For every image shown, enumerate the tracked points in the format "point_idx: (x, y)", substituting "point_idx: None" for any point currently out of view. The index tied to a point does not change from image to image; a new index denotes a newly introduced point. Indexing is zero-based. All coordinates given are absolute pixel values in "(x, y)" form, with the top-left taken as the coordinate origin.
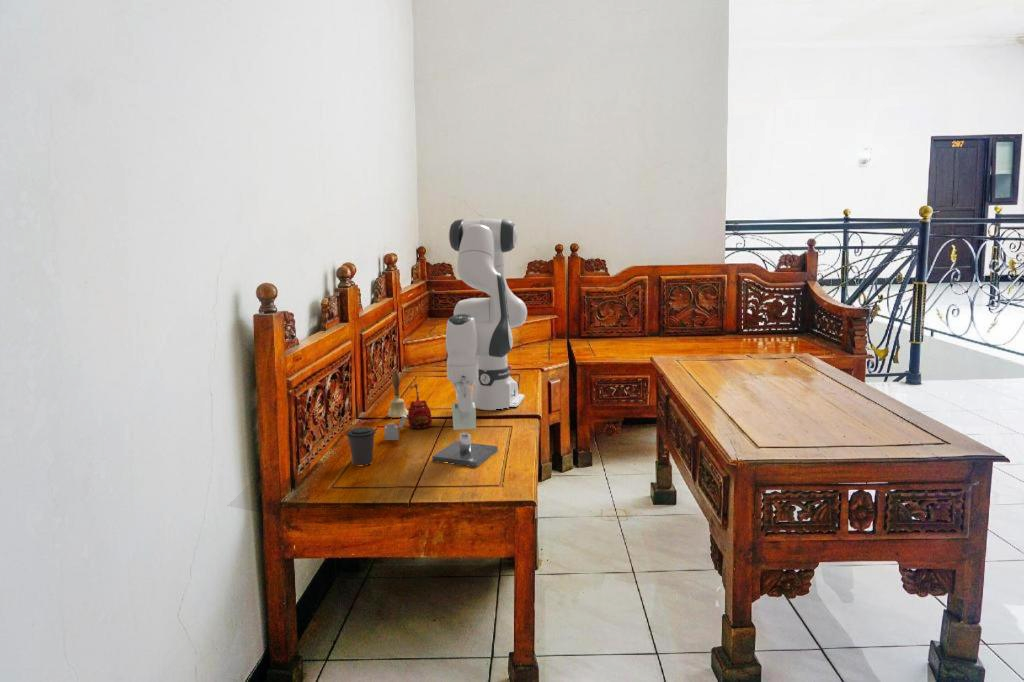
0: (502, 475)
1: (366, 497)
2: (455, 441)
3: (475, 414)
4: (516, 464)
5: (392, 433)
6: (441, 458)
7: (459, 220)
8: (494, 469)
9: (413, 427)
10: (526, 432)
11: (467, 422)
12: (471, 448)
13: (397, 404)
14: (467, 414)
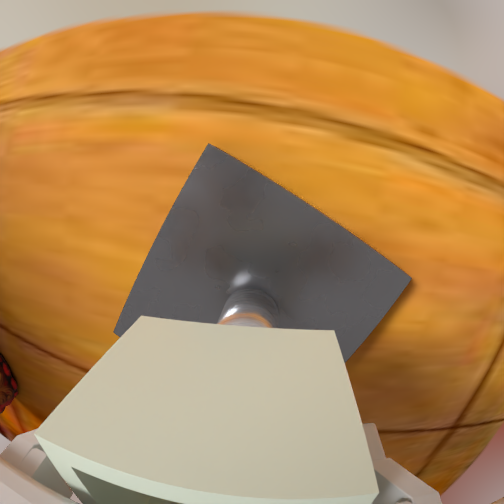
0: (493, 185)
1: (443, 480)
2: (117, 332)
3: (359, 426)
4: (406, 97)
5: None
6: None
7: None
8: (441, 201)
9: (16, 392)
10: (41, 47)
11: (376, 435)
12: (217, 281)
13: None
14: (423, 492)
